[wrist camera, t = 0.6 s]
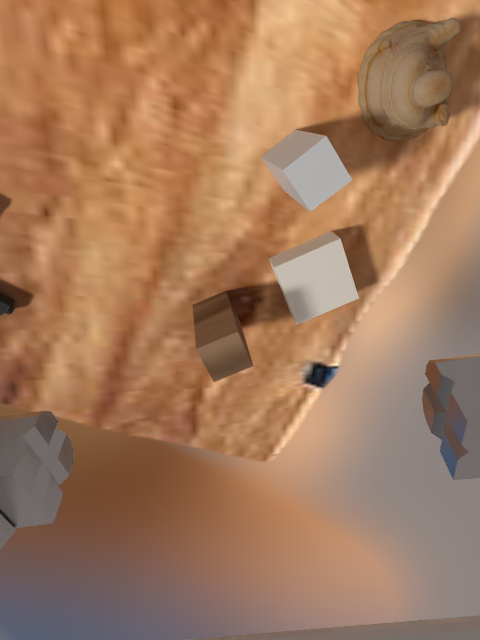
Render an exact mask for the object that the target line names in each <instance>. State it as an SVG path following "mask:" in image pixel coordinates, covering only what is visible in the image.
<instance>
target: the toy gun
mask: <svg viewBox="0 0 480 640" xmlns="http://www.w3.org/2000/svg"><path fill="white" fill-rule="evenodd" d="M13 302H14V300H12V299H10V298H8V297H6V296H4V295H1V294H0V316H1V315H3V314H4V313H6V314H8V315H9V314H11V313H12V312H13V310H14V306H13V305H12V304H13Z"/></svg>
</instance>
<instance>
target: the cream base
mask: <svg viewBox="0 0 480 640" xmlns="http://www.w3.org/2000/svg"><path fill="white" fill-rule="evenodd" d="M269 261H270V263H271V266H272V268H273V271H274V273H275V276H276V278H277V281H278V283H279V286H280V288H281V291H282V293H283V296H284V298H285V301H286V303H287V306H288V308H289V311H290V313H291V315H292V317H293V319H294V321H295V322H296V324H297V325H298V324H300V323H302V322H305V321H307V320H309V319H312V318H314V317H316V316H319V315H321V314H323V313H326V312H328V311H330V310H333V309H335V308H337V307H340V306H342V305H344V304H347V303H349V302H351V301H354V300H356V299H358V298H359V297H358V294H357V291H356V287H355V284H354V281H353V278H352V274H351V271H350V268H349V265H348V261H347V258H346V255H345V251H344V248H343V245H342V242H341V238H339V237H338V236H337V235H336V234H334V233H333V232H332V231H330V232H328V233H325V234H323V235H321V236H318V237H316V238H314V239H312V240H309V241H307V242H305V243H303V244H300V245H298V246H296V247H293V248H291V249H289V250H287V251H284V252H282V253H280V254H278V255H275V256H273V257H271V258H269Z"/></svg>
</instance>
